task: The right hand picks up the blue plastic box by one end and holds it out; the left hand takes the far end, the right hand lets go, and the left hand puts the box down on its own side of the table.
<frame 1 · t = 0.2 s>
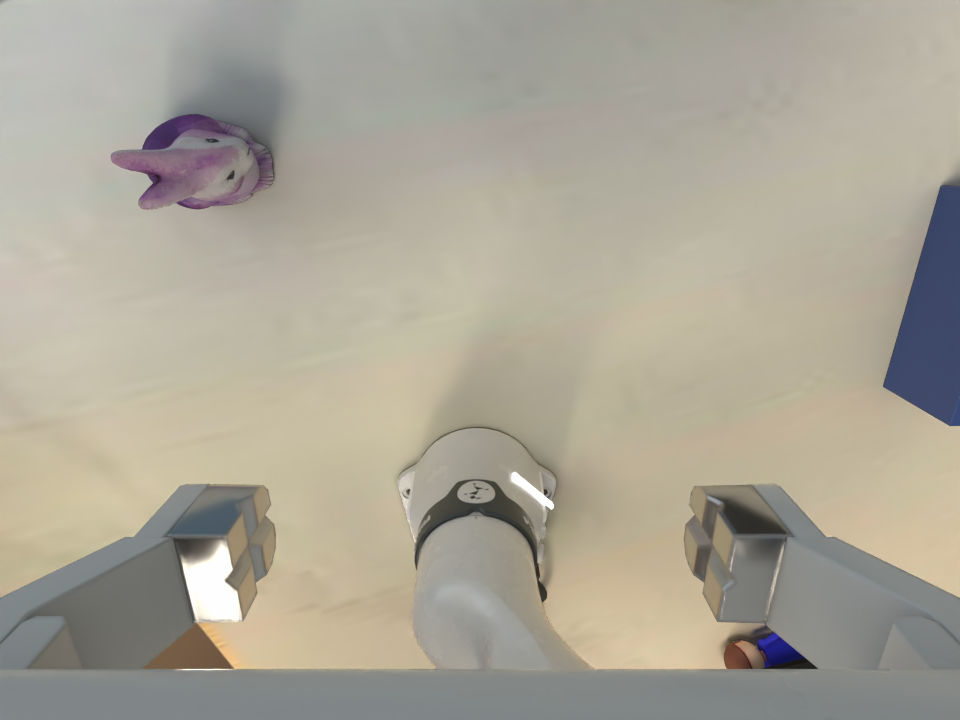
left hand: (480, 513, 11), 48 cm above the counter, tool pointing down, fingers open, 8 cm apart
box: (938, 292, 58), on the counter
figurine: (228, 160, 53), on the counter
figurine character: (773, 636, 75), on the counter
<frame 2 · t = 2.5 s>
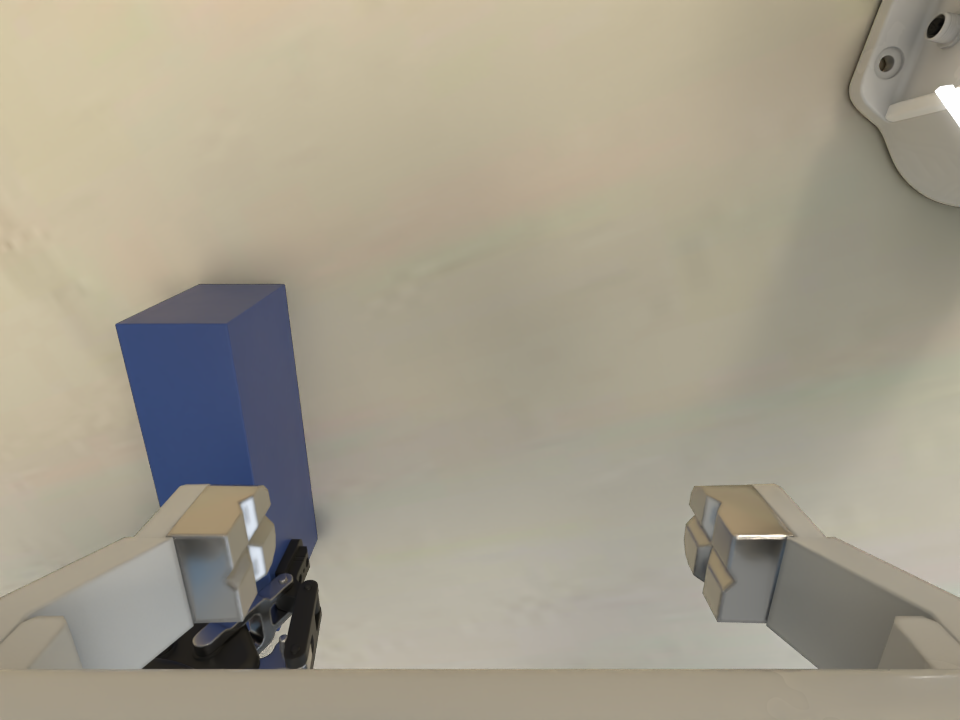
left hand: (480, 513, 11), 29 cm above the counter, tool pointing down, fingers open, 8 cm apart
right hand: (253, 549, 40), fingers closed on box, 6 cm apart
box: (263, 423, 42), on the counter, touching right hand
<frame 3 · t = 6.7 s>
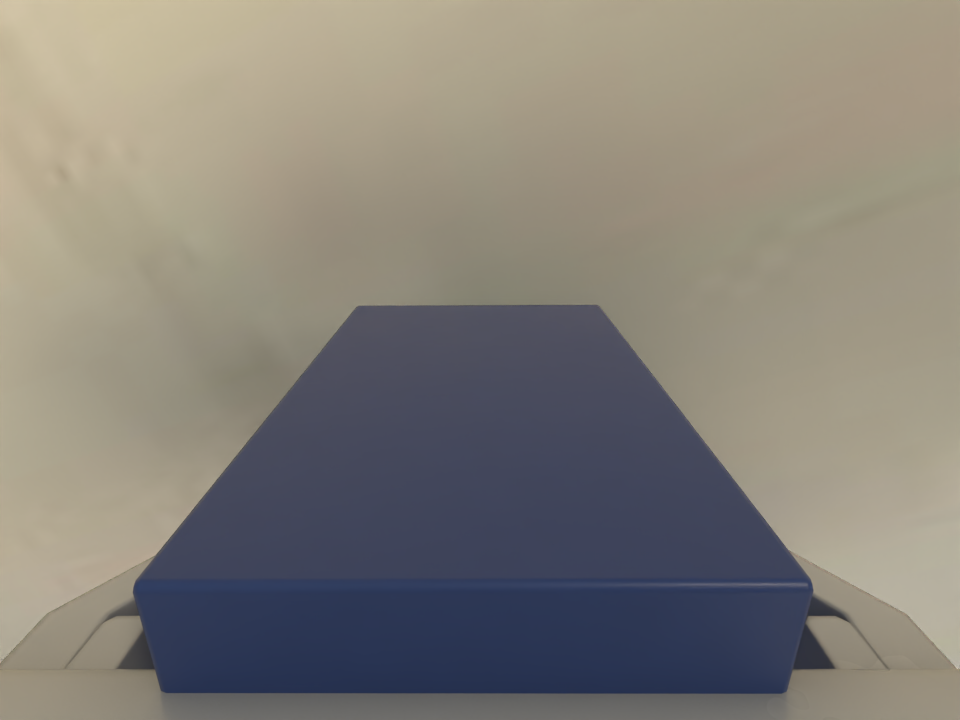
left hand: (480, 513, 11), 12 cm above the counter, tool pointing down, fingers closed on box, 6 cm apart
box: (479, 637, 17), point 8 cm above the counter, touching left hand, right hand
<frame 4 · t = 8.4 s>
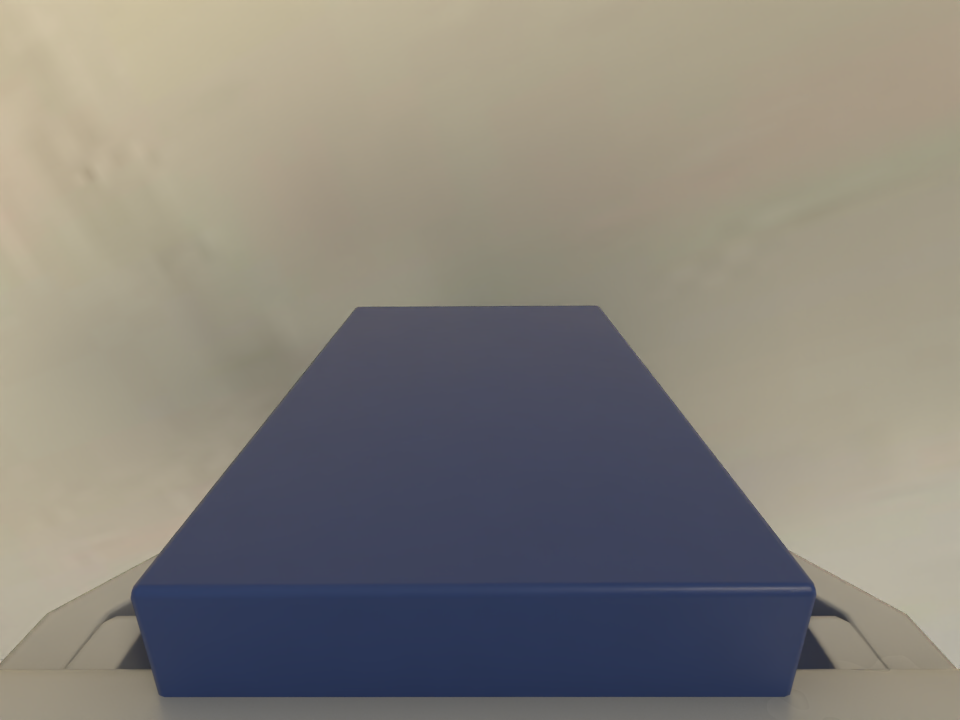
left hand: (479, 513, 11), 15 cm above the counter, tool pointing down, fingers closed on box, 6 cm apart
box: (479, 638, 17), point 10 cm above the counter, touching left hand
when the left hand's fingers open (6 cm above the counter, at t = 11.8 s): box drops 1 cm, on the counter.
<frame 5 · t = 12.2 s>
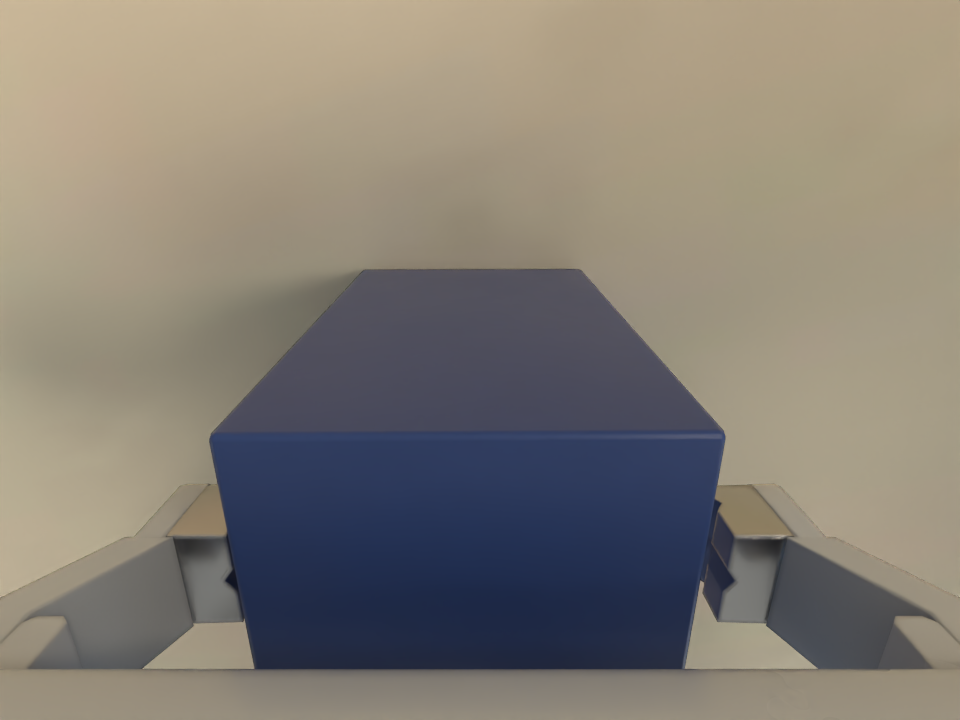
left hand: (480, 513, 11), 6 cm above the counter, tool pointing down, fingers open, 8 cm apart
box: (474, 581, 19), on the counter
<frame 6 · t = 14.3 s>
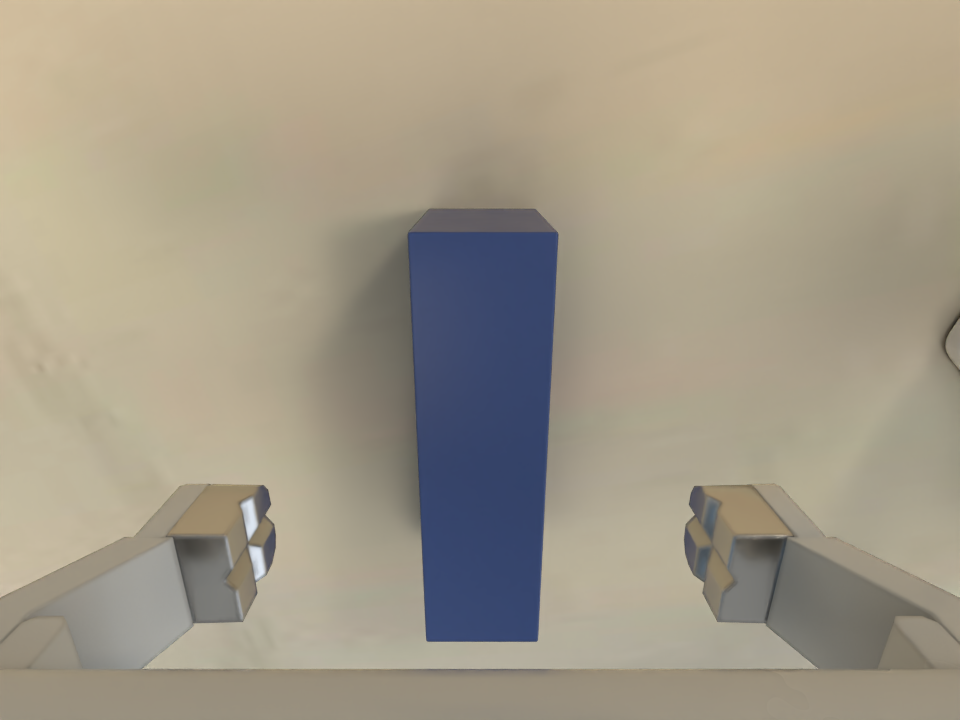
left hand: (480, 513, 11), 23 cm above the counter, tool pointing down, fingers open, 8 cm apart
box: (481, 386, 34), on the counter
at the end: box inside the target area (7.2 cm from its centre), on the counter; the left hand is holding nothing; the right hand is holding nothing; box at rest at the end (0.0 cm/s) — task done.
